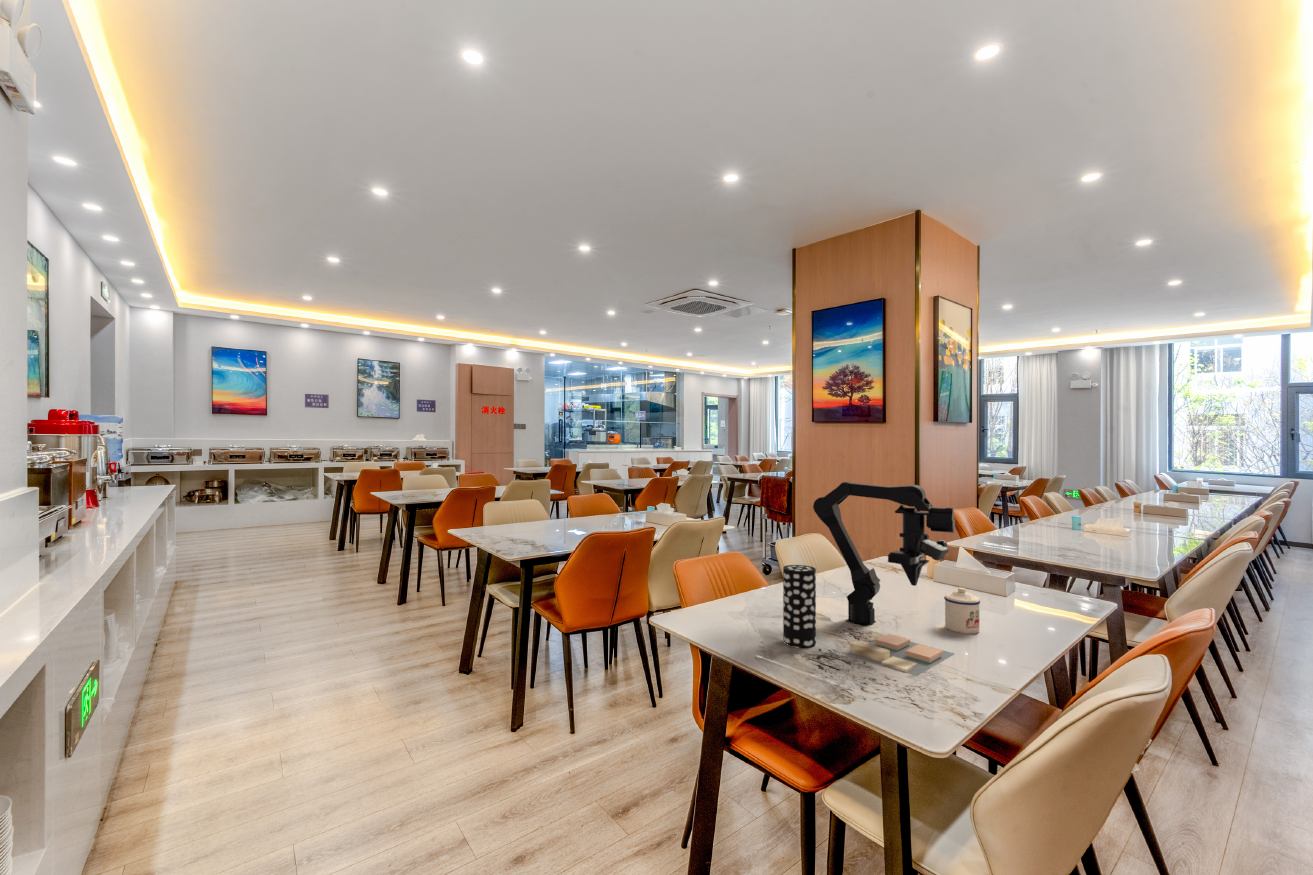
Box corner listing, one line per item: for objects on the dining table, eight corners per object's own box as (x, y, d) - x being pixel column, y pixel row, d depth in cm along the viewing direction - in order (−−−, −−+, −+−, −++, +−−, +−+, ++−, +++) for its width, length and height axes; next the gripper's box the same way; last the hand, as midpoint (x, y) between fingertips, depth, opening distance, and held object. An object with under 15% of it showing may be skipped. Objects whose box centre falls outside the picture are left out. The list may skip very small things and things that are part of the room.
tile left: (888, 639, 152) (874, 645, 147) (888, 633, 152) (874, 639, 147) (910, 645, 147) (897, 651, 143) (910, 639, 147) (897, 645, 143)
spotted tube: (818, 641, 151) (818, 566, 152) (813, 651, 144) (812, 572, 144) (787, 637, 155) (786, 563, 155) (780, 646, 147) (780, 569, 148)
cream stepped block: (847, 653, 141) (846, 644, 141) (858, 648, 145) (858, 639, 145) (906, 672, 130) (906, 661, 130) (917, 665, 134) (917, 655, 134)
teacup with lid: (972, 636, 155) (971, 594, 155) (938, 628, 162) (938, 587, 163) (990, 628, 163) (989, 587, 163) (957, 620, 170) (957, 581, 170)
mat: (844, 655, 142) (844, 653, 142) (886, 636, 155) (886, 635, 155) (916, 677, 128) (916, 675, 128) (955, 655, 142) (955, 653, 142)
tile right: (918, 650, 144) (905, 657, 139) (918, 644, 144) (905, 650, 139) (942, 657, 139) (930, 664, 135) (942, 650, 139) (930, 657, 135)
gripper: (927, 536, 148) (928, 596, 147) (957, 529, 160) (957, 585, 160) (886, 531, 156) (887, 588, 156) (917, 525, 168) (918, 578, 168)
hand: (913, 585), depth 160 cm, fingers closed
